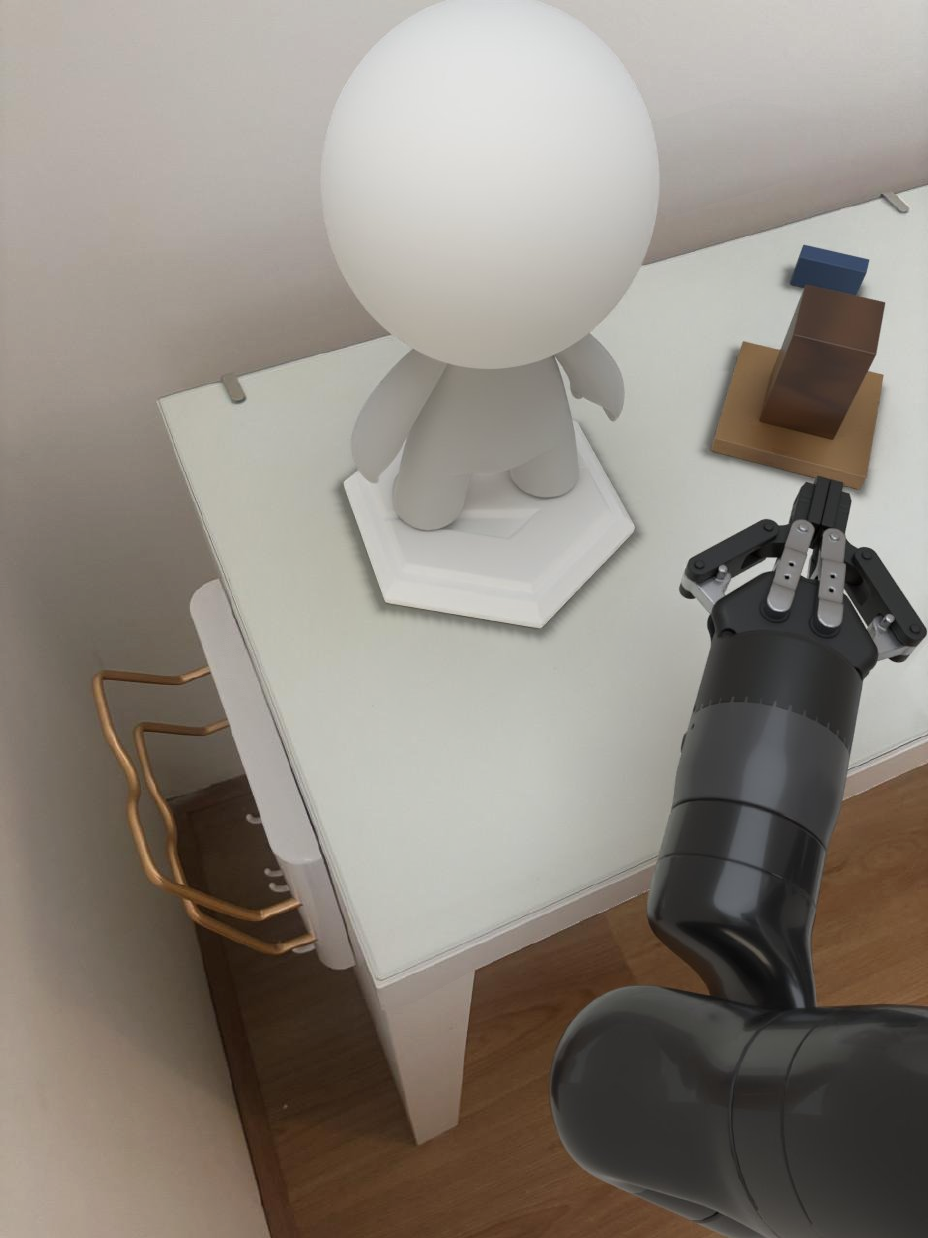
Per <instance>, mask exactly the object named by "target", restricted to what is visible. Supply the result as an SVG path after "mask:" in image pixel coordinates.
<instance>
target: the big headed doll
mask: <svg viewBox="0 0 928 1238" xmlns="http://www.w3.org/2000/svg"><path fill="white" fill-rule="evenodd" d="M651 120H652V119H651V117H650V115H649V111H648V108H647V106H646V103H645V101H644V98H643V96H642V95H641V92H640V91H639V88H638V86H637V84H636V83H635V80H634V79H633V77H632V76H631V74H630V72H629V71H628V70H627V68H626V66H625V65H624V63H623V62H622V61H621V59H620V58H619V57H618V56H617V55H616V53H615V52H614V51H613V50H612V49H611V48H610V46H609V45H608V44H607V43H606V41H604V40H603V39H602V38H601V37H600V36H599V35H597V33H595V32H594V31H593V29H591V28H589V27H588V26H587V25H586V24H585V23H583V22H581V21H580V20H579V19H577V18H576V17H574V16H572V15H571V14H569V13H567V12H565V10H564V11H563V10H561V9H560V8H558V7H555V6H553V5H551V4H548V3H546V2H543V1H541V0H443V1H440V2H437V3H434V4H432V5H430V6H428V7H425V8H424V9H422V10H420V11H417V12H416V13H414V14H412V15H411V16H409V17H408V18H406V19H404V20H403V21H401V22H400V23H398V24H397V25H396V26H395V27H393V28H392V29H391V30H389V31H387V33H386V34H384V36H382V37H381V38H380V39H379V40H378V41H377V42H376V43H375V44H374V45H373V46H372V47H371V48H370V49H369V51H367V53H366V54H365V55H364V56H363V57H362V58H361V60H360V61H359V63H357V65H356V67H355V68H354V70H353V71H352V73H351V74H350V76H349V77H348V79H347V81H346V83H344V86H343V88H342V90H341V92H340V93H339V95H338V98H337V100H336V102H335V105H334V107H333V110H332V112H331V115H330V118H329V122H328V124H327V129H326V133H325V137H324V142H323V147H322V154H321V161H320V162H321V163H320V200H321V209H322V216H323V222H324V227H325V229H326V230H325V231H326V234H327V238H328V241H329V245H330V248H331V250H332V253H333V256H334V259H335V261H336V263H337V265H338V268H339V270H340V273H341V274H342V276H343V278H344V280H345V282H346V283H347V284H348V286H349V288H350V290H351V292H352V293H353V294H354V296H355V297H356V299H357V300H358V302H359V303H360V304H361V305H362V307H363V308H364V309H365V310H366V311H367V313H368V314H369V315H370V316H371V317H372V318H373V319H374V320H375V321H376V322H377V323H378V325H380V326H381V327H382V328H383V329H384V330H385V331H387V332H388V333H389V334H391V336H392V337H394V338H395V339H397V340H398V341H400V342H401V343H403V344H404V345H406V346H407V347H408V348H411V349H410V350H409V351H408V352H407V353H406V354H404V355H403V356H402V358H400V359H399V361H398V362H396V364H395V365H394V366H393V367H392V368H390V370H389V371H388V373H386V375H385V376H384V377H383V378H382V380H381V381H380V382H379V383H378V385H376V387H375V389H374V390H373V391H372V393H370V395H369V396H368V398H367V400H366V401H365V403H363V406H362V408H361V409H360V411H359V413H358V414H357V417H356V419H355V422H354V425H353V427H352V431H351V437H350V453H351V457H352V461H353V463H354V465H355V467H356V469H357V470H356V471H354V473H352V474H351V475H350V476H348V477H347V478H346V479H345V480H344V481H343V487H344V491H345V493H346V496H347V499H348V501H349V504H350V507H351V510H352V513H353V515H354V518H355V522H356V524H357V527H358V530H359V533H360V535H361V538H362V541H363V544H364V548H365V550H366V552H367V555H368V558H369V561H370V563H371V566H372V570H373V572H374V575H375V577H376V581H377V583H378V585H379V589H380V592H381V595H382V598H383V600H384V602H385V603H387V604H391V605H397V606H403V607H404V606H405V607H410V608H415V609H420V610H421V609H422V610H428V611H434V612H440V613H444V614H445V613H446V614H452V615H457V616H463V617H469V618H476V619H480V620H487V621H493V622H499V623H506V624H510V625H511V624H512V625H517V626H523V627H529V628H534V629H542V628H543V627H545V625H546V624H547V623H548V622H549V621H550V620H551V619H552V618H553V617H554V616H555V615H556V614H557V613H558V611H559V610H560V609H561V608H563V606H565V604H566V603H567V602H568V601H569V600H571V598H572V597H573V596H574V595H575V594H576V593H577V592H578V591H579V590H580V589H581V587H583V586H584V584H585V583H586V582H587V581H589V579H590V578H591V577H592V576H593V575H594V574H595V573H596V572H597V571H598V570H599V569H600V568H601V567H602V566H603V565H604V564H605V563H606V562H607V561H608V560H609V559H610V558H611V556H613V554H615V552H616V551H617V550H618V549H619V548H620V547H621V546H622V545H624V544H625V542H626V541H627V540H628V539H629V538H630V537H631V536H632V535H633V533H634V532H635V529H636V526H635V524H634V521H633V520H632V518H631V516H630V515H629V512H628V511H627V509H626V507H625V506H624V504H623V502H622V500H621V497H620V496H619V495H618V493H617V491H616V489H615V487H614V486H613V484H612V482H611V480H610V479H609V477H608V475H607V473H606V471H605V469H604V467H603V466H602V464H601V462H600V460H599V458H598V456H597V455H596V453H595V451H594V449H593V448H592V446H591V444H590V442H589V440H588V439H587V437H586V435H585V433H584V432H583V430H582V427H581V426H580V423H578V421H576V420H575V419H573V417H572V416H573V415H572V411H571V407H570V403H569V399H568V395H567V391H566V387H565V383H564V380H563V376H562V373H561V371H560V368H559V364H560V366H561V367H562V369H563V371H564V372H565V374H566V376H567V378H568V381H569V389H570V392H571V395H572V397H573V398H575V399H577V400H581V399H582V398H583V399H585V400H587V401H589V402H591V403H593V404H595V405H597V406H600V407H601V409H602V410H603V412H604V413H605V415H606V416H607V418H608V419H609V421H611V422H612V423H614V422H616V421H617V420H618V419H619V417H620V416H621V414H622V412H623V409H624V405H625V399H626V398H625V397H626V396H625V395H626V391H625V381H624V377H623V373H622V372H621V369H620V367H619V365H618V364H617V362H616V360H615V359H614V357H613V356H612V354H611V353H610V352H609V350H608V349H606V347H605V346H604V345H603V344H602V343H601V342H600V341H599V340H598V339H597V338H596V337H595V336H594V335H593V334H592V333H591V332H593V331H594V330H595V329H596V328H597V327H598V326H599V325H600V324H601V323H602V322H603V321H604V320H605V319H606V318H607V317H608V316H609V315H610V314H611V313H612V312H613V310H614V309H615V308H616V307H617V306H618V304H619V303H620V302H621V300H622V299H623V298H624V297H625V295H626V294H627V292H628V290H629V289H630V288H631V286H632V284H633V282H634V280H635V278H636V277H637V275H638V273H639V271H640V269H641V267H642V264H643V263H644V261H645V257H646V255H647V253H648V250H649V247H650V244H651V240H652V238H653V233H654V230H655V225H656V219H657V214H658V207H659V199H660V163H659V162H660V161H659V154H658V153H659V152H658V146H657V141H656V136H655V132H654V127H653V124H652V121H651ZM557 361H558V362H557ZM558 363H559V364H558Z"/></svg>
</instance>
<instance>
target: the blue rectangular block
mask: <svg viewBox="0 0 928 1238" xmlns="http://www.w3.org/2000/svg"><path fill="white" fill-rule="evenodd" d="M798 255H799V256H798V258H797V260H796V264H795V266H794V269H793V271H792V275H791V277H790V282H789V285H791V286H796V287H799V288H803V289H804V287H805V285H811V286H816V287H820V288H825V289H829V290H833V291H838V292H842V293H847V294H851V295H856V296H858V293H859V290H860V289H861V287H862V284H863V283H864V279H865V278H866V275H867V273H868V269H869V264H870V259H869V258H865V257H860V256H856V255H852V254H848V253H843V252H838V251H834V250H830V249H825V248H821V247H817V246H816V247H815V246H814V245H813V246H812V245H807V244H802V247H801V249H800V252H799V254H798Z"/></svg>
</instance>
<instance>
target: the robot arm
mask: <svg viewBox="0 0 928 1238" xmlns="http://www.w3.org/2000/svg"><path fill="white" fill-rule="evenodd" d="M814 479H815V480H814V481H813V483H812V482H809V481H805V482H804V484H803V485H801V486H800V489H799V491H798V493H797V495H796V497H795V499H794V501H793V504H792V508H791V511H790V516H789V518H788V519H789V520H788V523H787V524H778V522H776V521H775V520H773V519H771V518H763V519H761V520H759V521H757V522H755V523H753V524H751V525H750V526H747V527H746V528H744V529H741V530H740V531H738V532H735V533H734V534H732V535H730V536H729V537H727V538H725V539H724V540H721V541H720V542H717V543H716V544H714V545H712V546H710V547H708V548H706V549H704V550H703V551H701V552H699V553H697V554H696V555H695V554H694V556H692V557H690V558H689V559H688V561H687V564H686V567H685V569H684V570H683V574H682V576H681V580H680V583H679V586H678V592H679V594H680V595H681V596H682V597H683V598H684V599H688V600H697V601H698V603H699V604H701V606H702V607H703V608H704V609H705V610H706V611H707V613H708V614H709V615H708V617H707V621H706V628H707V632H708V634H709V637H710V648H709V651H708V655H707V657H706V658H707V659H706V662H705V665H704V668H703V672H702V676H701V679H700V683H699V687H698V691H697V694H696V698H695V702H694V705H693V708H692V712H691V716H690V719H689V722H688V723H689V724H688V727H687V730H686V732H685V733H684V734H683V737H682V740H681V745H680V756H679V760H678V763H677V769H676V774H675V780H674V788H673V789H674V790H673V797H672V803H671V804H672V805H671V808H670V813H669V816H668V819H667V823H666V827H665V829H664V834H663V837H662V841H661V845H660V849H659V852H658V856H657V860H656V862H655V866H654V870H653V873H652V878H651V881H650V885H649V889H648V892H647V893H648V895H647V900H646V911H645V912H646V919H647V922H648V926H649V928H650V930H651V932H652V933H653V935H654V936H655V937H656V938H657V939H658V940H659V941H660V942H661V943H662V944H664V946H665V947H667V948H668V949H669V950H670V951H671V952H672V953H673V954H675V955H676V956H677V957H678V958H679V959H681V960H682V961H683V962H684V963H685V964H686V965H688V966H689V967H690V968H691V969H692V970H693V972H694V973H696V974H697V975H698V976H699V978H700V979H701V980H702V982H703V983H704V984H705V986H706V988H707V992H708V994H704V993H699V992H692V991H690V990H683V989H678V988H673V987H666V986H660V985H654V984H653V985H652V984H633V985H631V984H630V985H625V986H620V987H617V988H614V989H611V990H609V991H606V992H604V993H603V994H600V995H598V996H597V997H596V998H593V1000H591V1001H590V1002H589V1003H587V1004H586V1005H585V1006H583V1008H582V1009H580V1011H579V1012H578V1013H577V1014H576V1015H574V1016H573V1018H572V1019H571V1020H570V1022H569V1023H568V1025H567V1026H566V1027H565V1029H564V1030H563V1032H562V1034H561V1036H560V1038H559V1040H558V1042H557V1044H556V1046H555V1049H554V1052H553V1056H552V1059H551V1063H550V1068H549V1072H548V1083H547V1084H548V1089H547V1090H548V1091H547V1092H548V1093H547V1094H548V1104H549V1111H550V1116H551V1119H552V1122H553V1125H554V1128H555V1131H556V1133H557V1136H558V1138H559V1141H560V1142H561V1145H562V1146H563V1147H564V1149H565V1151H566V1152H567V1153H568V1154H569V1156H570V1157H571V1158H572V1160H573V1161H574V1162H575V1163H576V1164H577V1165H578V1166H579V1167H580V1168H581V1169H583V1171H585V1172H586V1173H588V1174H589V1175H591V1176H593V1177H595V1178H596V1179H599V1180H600V1181H603V1182H604V1183H606V1184H609V1185H611V1186H613V1187H616V1188H617V1189H620V1190H622V1191H624V1192H626V1193H629V1194H631V1195H633V1196H635V1197H638V1198H640V1199H641V1200H644V1201H646V1202H649V1203H652V1204H653V1205H656V1206H657V1207H660V1208H662V1209H664V1210H667V1211H669V1212H671V1213H674V1214H675V1215H678V1216H680V1217H683V1218H685V1219H686V1220H689V1221H691V1222H693V1223H695V1224H697V1225H699V1226H702V1227H703V1228H705V1229H708V1230H709V1231H712V1232H714V1233H717V1234H719V1235H721V1236H723V1237H727V1238H928V1005H917V1004H903V1003H869V1004H845V1005H824V1006H823V1005H821V1006H818V998H817V987H816V978H815V970H814V961H813V946H812V945H813V944H812V943H813V932H814V928H815V927H814V926H815V921H816V917H817V909H818V903H819V899H820V893H821V892H820V891H821V887H822V881H823V875H824V871H825V865H826V860H827V859H826V858H827V855H828V851H829V848H830V843H831V841H832V837H833V834H834V832H835V829H836V826H837V823H838V820H839V818H840V814H841V810H842V804H843V800H844V795H845V794H844V793H845V790H846V789H845V788H846V782H847V777H848V772H849V764H850V760H851V754H852V748H853V742H854V737H855V732H856V725H857V720H858V715H859V709H860V704H861V703H860V702H861V697H862V691H863V685H864V680H865V679H866V678H867V676H869V674H870V672H871V670H873V669H874V668H875V666H876V665H877V663H878V662H880V661H884V660H886V659H888V660H889V661H890V662H893V663H899V664H900V663H904V662H906V660H907V659H908V658H909V657H910V655H911V654H912V653H913V652H914V651H915V650H916V649H917V648H918V646H919V645H920V644H921V643H922V641H924V639H925V638H926V637H927V635H928V628H927V627H926V625H925V624H924V622H923V621H922V619H921V618H920V616H919V615H918V613H917V612H916V610H915V609H914V607H913V606H912V604H911V603H910V601H909V600H908V598H907V597H906V595H905V594H904V592H903V591H902V589H901V588H900V585H898V583H897V581H896V580H895V579H894V577H893V576H892V574H891V573H890V571H889V569H888V568H887V566H886V565H885V563H884V562H883V561H882V559H881V557H880V556H879V555H878V553H877V552H876V551H875V550H874V549H873V548H871V547H868V546H861V547H857V546H855V545H853V544H852V543H851V542H849V540H848V539H847V536H846V532H847V526H848V521H849V516H850V511H851V507H852V497H851V494H850V493H849V492H846V491H843V489H844V485H843V484H844V482H841V481H837V480H833V479H829V478H826V477H822V476H817V477H816V478H814ZM809 549H810V550H812V553H811V555H810V556H809V559H808V565H807V574H806V577H805V576H803V575H802V574H803V573H802V572H803V570H804V567H805V564H806V560H807V558H808V552H809ZM771 558H772V559H775V560H774V561H775V562H774V564H773V567H772V570H768V571H765V572H762V573H760V574H758V575H757V576H754V577H753V578H751V579H750V580H748V581H746V582H745V583H743V584H742V585H740V586H738V587H736V588H735V589H733V590H732V591H730V592H728V593H727V594H726V592H727V590H728V587H729V585H730V583H731V580H732V579H734V578H735V577H737V576H739V575H741V574H742V573H745V572H747V571H748V570H750V569H751V568H754V567H755V566H757V565H758V564H760V563H763V562H764V561H766V560H767V559H771ZM844 591H845V593H844ZM864 623H865V624H864ZM866 626H867V627H866Z"/></svg>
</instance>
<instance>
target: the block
mask: <svg viewBox="0 0 928 1238" xmlns="http://www.w3.org/2000/svg"><path fill="white" fill-rule="evenodd" d="M885 308H886V301H882V300H879V299H873V298H869V297H864V296H861V295H860V296H859V295H851V294H847V293H842V292H838V291H833V290H829V289H825V288H820V287H816V286H811V285H805V287H804V288H803V289H802V292H801V295H800V298H799V300H798V302H797V306H796V307H795V310H794V313H793V316H792V318H791V321H790V324H789V326H788V328H787V332H786V333H785V337H784V339H783V341H782V344H781V347H780V349H778V348H774V347H769V346H767V345H762V344H758V343H754V342H753V343H752V342H749V341H746V340H745V341H744V340H743V341H742V342H741V344H740V345H741V346H740V348H739V351H738V354H737V357H736V361H735V365H734V368H733V372H732V376H731V378H730V381H729V385H728V389H727V392H726V396H725V400H724V403H723V406H722V410H721V414H720V417H719V420H718V424H717V427H716V430H715V433H714V438H713V441H712V444H711V448H710V451H711V452H715V453H718V454H722V455H726V456H730V457H733V458H737V459H740V460H741V459H742V460H745V461H749V462H752V463H756V464H760V465H765V466H768V467H772V468H776V469H779V470H783V471H787V472H791V473H793V474H794V473H795V474H798V475H802V476H807V477H810V478H814V479H816V477H817V476H822V477H826V478H829V479H833V480H837V481H841V482H844V484H843V487H844V486H845V487H848V488H851V489H852V488H853V489H856V490H860V489H861V488H862V487H863V485H864V483H865V481H866V479H867V477H868V471H869V466H870V459H871V453H872V449H873V448H872V447H873V442H874V435H875V429H876V425H877V424H876V423H877V418H878V412H879V407H880V406H879V405H880V399H881V395H882V388H883V382H884V374H883V373H878V372H875V371H870V368H871V366H872V364H873V362H874V360H875V359H876V356H877V353H878V348H879V342H880V341H879V340H880V337H881V330H882V325H883V319H884V314H885Z"/></svg>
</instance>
